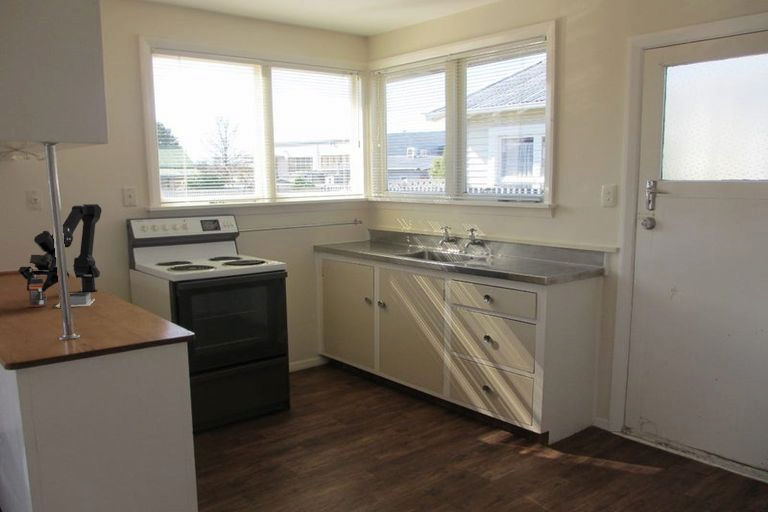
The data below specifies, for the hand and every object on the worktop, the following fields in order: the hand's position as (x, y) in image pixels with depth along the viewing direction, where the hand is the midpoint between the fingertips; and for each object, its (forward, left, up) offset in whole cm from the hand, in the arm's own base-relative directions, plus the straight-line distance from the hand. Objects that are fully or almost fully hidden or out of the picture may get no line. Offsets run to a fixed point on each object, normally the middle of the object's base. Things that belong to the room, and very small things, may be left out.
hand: (35, 290), depth 242 cm
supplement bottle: (-1, +1, -7) cm, 7 cm away
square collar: (+1, +14, -7) cm, 15 cm away
